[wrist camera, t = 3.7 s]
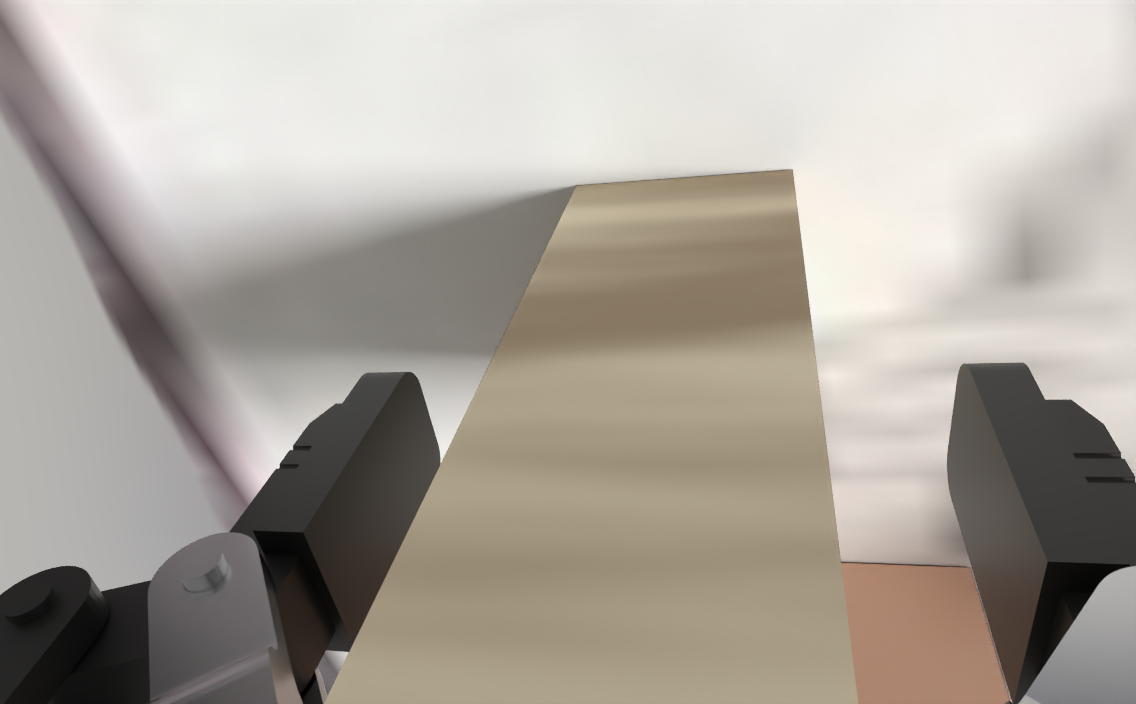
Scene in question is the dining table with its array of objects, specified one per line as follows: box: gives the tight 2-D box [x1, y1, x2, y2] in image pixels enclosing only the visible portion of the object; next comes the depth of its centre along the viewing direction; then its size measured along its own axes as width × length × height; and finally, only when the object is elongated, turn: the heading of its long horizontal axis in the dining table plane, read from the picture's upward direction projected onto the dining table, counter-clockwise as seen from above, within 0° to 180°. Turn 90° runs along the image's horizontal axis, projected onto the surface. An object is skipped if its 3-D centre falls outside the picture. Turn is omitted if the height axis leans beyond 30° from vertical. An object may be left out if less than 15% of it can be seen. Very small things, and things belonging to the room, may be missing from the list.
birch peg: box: [324, 170, 858, 704], centre depth 10 cm, size 4×4×14 cm
